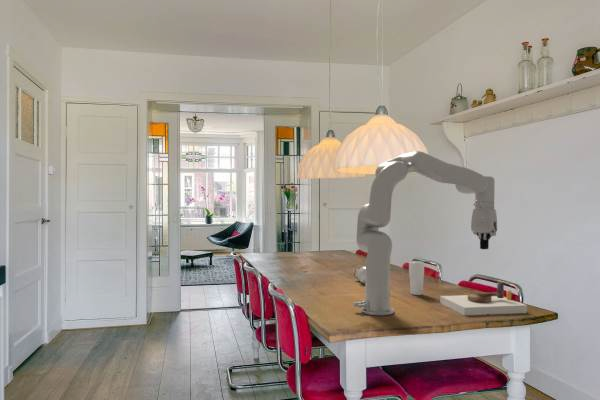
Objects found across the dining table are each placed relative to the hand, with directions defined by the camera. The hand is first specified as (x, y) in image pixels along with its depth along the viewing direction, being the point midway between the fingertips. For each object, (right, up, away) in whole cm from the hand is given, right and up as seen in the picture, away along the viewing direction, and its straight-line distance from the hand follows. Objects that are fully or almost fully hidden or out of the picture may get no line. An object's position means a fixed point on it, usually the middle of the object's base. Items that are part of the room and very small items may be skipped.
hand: (484, 248), depth 189 cm
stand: (-4, -23, -7) cm, 25 cm away
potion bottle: (-44, -23, +46) cm, 68 cm away
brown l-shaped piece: (-2, -20, -7) cm, 21 cm away
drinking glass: (-24, -23, +18) cm, 38 cm away
